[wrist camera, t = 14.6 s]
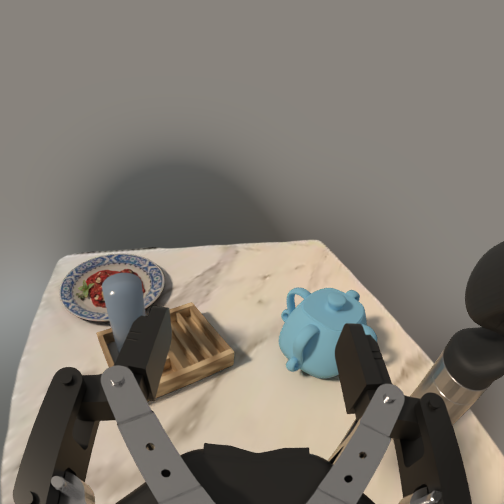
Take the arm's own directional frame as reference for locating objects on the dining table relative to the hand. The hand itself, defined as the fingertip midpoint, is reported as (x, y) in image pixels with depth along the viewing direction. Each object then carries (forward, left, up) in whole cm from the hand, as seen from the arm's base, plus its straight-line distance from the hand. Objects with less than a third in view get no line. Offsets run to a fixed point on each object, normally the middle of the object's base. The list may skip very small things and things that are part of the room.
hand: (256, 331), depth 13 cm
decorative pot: (-29, -13, -32) cm, 45 cm away
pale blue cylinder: (+1, -28, -31) cm, 42 cm away
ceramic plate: (-1, -51, -33) cm, 60 cm away
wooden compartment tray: (-4, -27, -32) cm, 42 cm away
